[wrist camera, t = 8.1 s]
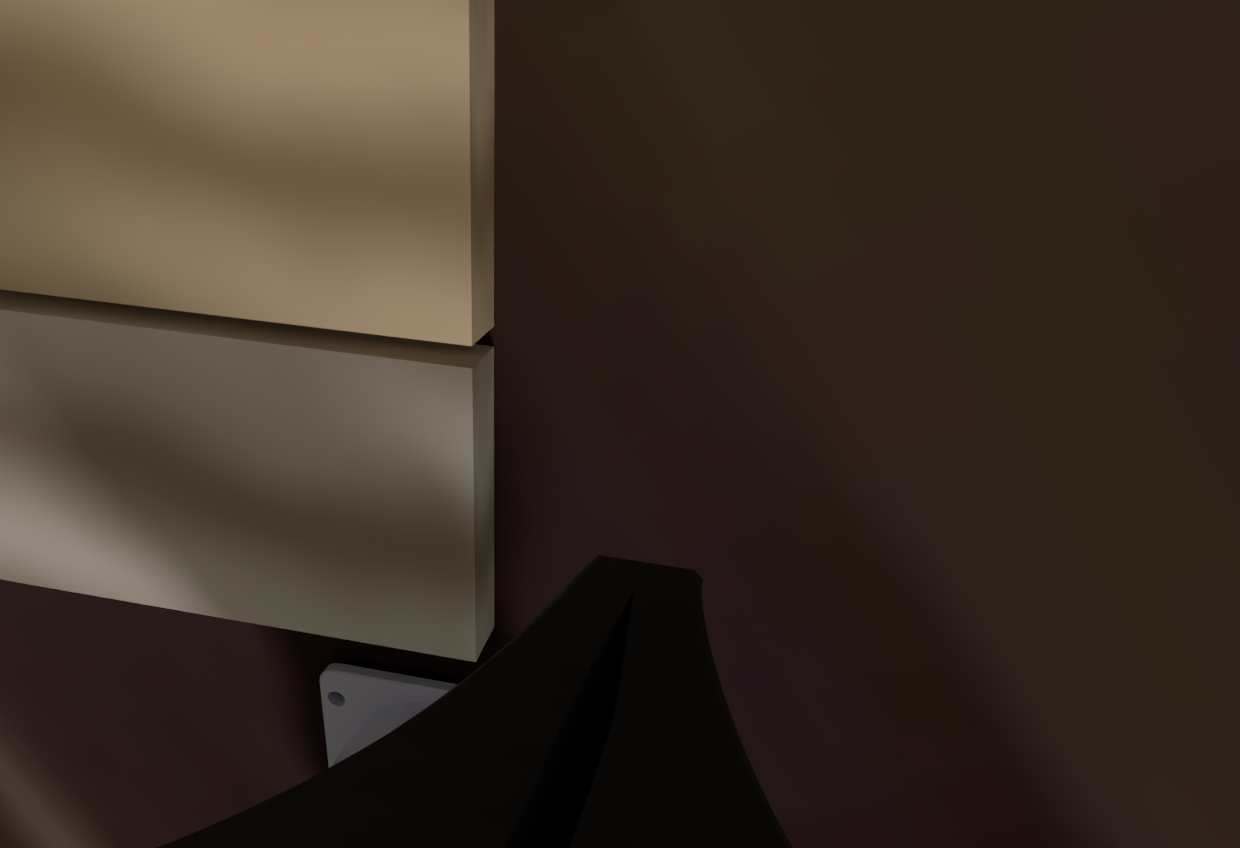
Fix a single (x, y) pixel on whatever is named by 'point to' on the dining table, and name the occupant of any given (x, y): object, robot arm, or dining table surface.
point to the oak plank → (254, 159)
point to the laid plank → (250, 470)
